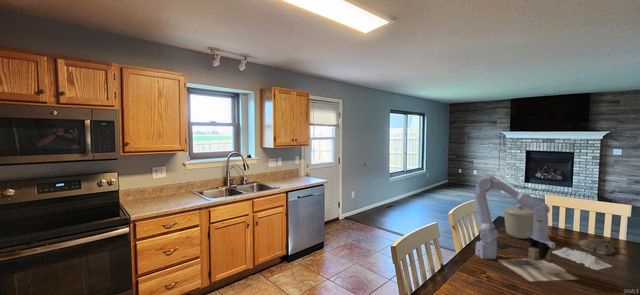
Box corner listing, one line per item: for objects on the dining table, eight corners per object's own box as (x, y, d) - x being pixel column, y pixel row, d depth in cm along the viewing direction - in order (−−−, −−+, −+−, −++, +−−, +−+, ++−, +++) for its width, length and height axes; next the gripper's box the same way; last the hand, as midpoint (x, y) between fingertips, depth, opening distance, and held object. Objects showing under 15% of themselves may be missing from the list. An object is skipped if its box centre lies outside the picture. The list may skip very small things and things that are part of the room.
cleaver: (561, 241, 173) (572, 239, 176) (561, 240, 173) (572, 238, 176) (516, 226, 201) (526, 224, 204) (516, 225, 201) (526, 224, 204)
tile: (549, 270, 131) (565, 270, 132) (537, 263, 138) (552, 263, 139) (549, 273, 131) (565, 273, 132) (537, 266, 138) (552, 266, 139)
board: (529, 283, 125) (529, 280, 125) (496, 261, 146) (496, 259, 146) (579, 281, 127) (579, 278, 126) (539, 260, 147) (540, 257, 147)
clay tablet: (591, 241, 173) (574, 246, 164) (591, 233, 172) (575, 238, 164) (623, 250, 160) (607, 257, 151) (623, 242, 160) (608, 248, 151)
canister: (543, 241, 172) (544, 208, 171) (514, 241, 172) (515, 208, 171) (522, 231, 190) (523, 200, 189) (496, 231, 190) (496, 200, 189)
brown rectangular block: (534, 260, 132) (534, 250, 132) (528, 257, 136) (528, 247, 136) (550, 260, 133) (550, 250, 133) (543, 257, 136) (544, 247, 136)
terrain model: (563, 250, 163) (563, 242, 163) (617, 266, 142) (617, 256, 142) (546, 255, 156) (546, 246, 156) (599, 272, 135) (599, 262, 135)
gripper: (562, 233, 127) (560, 263, 127) (535, 223, 141) (534, 249, 142) (547, 234, 126) (546, 263, 127) (522, 223, 141) (521, 250, 141)
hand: (539, 256), depth 134 cm, fingers closed on brown rectangular block, 3 cm apart
